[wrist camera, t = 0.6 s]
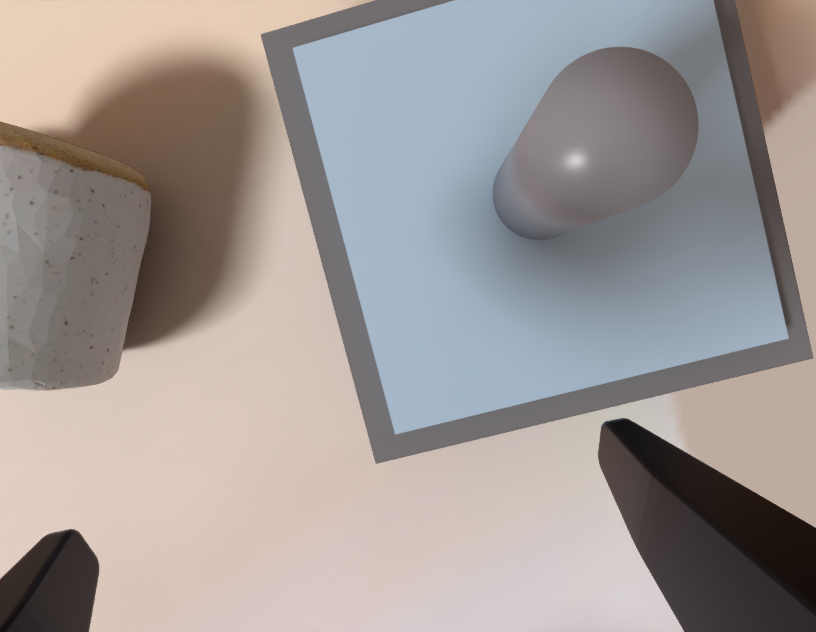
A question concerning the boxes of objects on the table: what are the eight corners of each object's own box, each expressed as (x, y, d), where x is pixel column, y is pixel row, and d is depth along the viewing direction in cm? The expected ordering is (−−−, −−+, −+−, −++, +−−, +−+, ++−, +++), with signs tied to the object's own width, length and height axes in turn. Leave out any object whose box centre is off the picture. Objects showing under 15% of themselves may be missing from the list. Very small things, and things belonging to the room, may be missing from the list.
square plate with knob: (776, 336, 17) (1043, 378, 10) (396, 429, 18) (371, 534, 10) (688, -59, 16) (901, -342, 9) (297, 56, 17) (194, -118, 10)
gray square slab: (741, 344, 21) (813, 358, 17) (385, 430, 22) (376, 463, 18) (657, -25, 20) (712, -100, 16) (292, 81, 21) (260, 34, 17)
